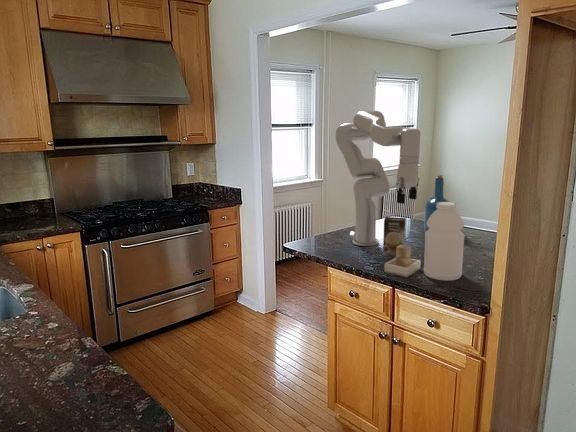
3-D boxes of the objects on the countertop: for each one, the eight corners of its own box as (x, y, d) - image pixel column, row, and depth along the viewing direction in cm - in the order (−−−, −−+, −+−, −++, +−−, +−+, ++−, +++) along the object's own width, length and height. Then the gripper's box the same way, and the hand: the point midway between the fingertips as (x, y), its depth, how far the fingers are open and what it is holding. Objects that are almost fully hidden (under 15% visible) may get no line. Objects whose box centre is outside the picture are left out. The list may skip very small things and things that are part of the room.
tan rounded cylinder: (395, 268, 172) (396, 246, 170) (400, 266, 174) (400, 244, 172) (406, 270, 169) (406, 248, 167) (410, 268, 171) (411, 246, 169)
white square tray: (384, 272, 170) (384, 263, 170) (398, 264, 179) (398, 256, 178) (406, 277, 164) (407, 268, 163) (420, 268, 173) (420, 260, 172)
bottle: (457, 283, 156) (462, 208, 150) (419, 277, 164) (422, 205, 157) (465, 271, 168) (469, 201, 162) (428, 266, 175) (431, 198, 169)
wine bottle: (454, 235, 217) (457, 176, 210) (428, 236, 217) (430, 177, 210) (445, 228, 230) (448, 172, 223) (420, 229, 230) (422, 173, 223)
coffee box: (382, 255, 191) (383, 219, 187) (384, 250, 197) (384, 216, 193) (403, 256, 188) (404, 220, 184) (404, 252, 194) (405, 217, 190)
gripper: (411, 156, 182) (408, 196, 187) (389, 161, 171) (387, 203, 175) (427, 158, 177) (425, 198, 182) (406, 163, 165) (404, 206, 170)
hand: (406, 200), depth 178 cm, fingers open, 9 cm apart
